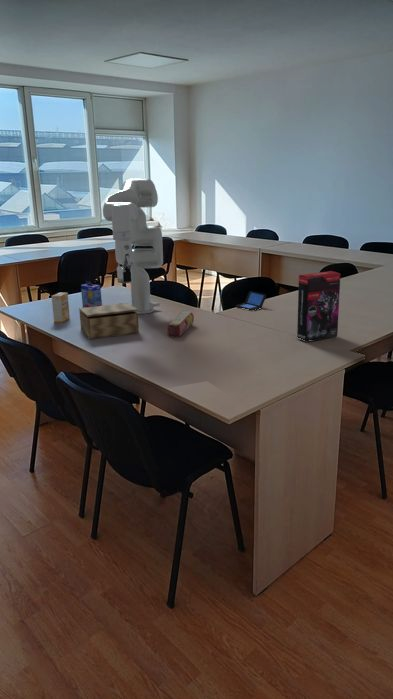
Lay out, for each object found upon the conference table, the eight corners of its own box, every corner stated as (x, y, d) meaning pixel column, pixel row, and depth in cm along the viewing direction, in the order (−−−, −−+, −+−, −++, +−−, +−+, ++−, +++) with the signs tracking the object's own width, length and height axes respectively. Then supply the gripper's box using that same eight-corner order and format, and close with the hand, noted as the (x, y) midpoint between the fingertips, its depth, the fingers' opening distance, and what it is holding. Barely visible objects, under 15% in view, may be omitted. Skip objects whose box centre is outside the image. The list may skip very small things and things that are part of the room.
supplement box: (63, 323, 248) (60, 296, 243) (53, 322, 249) (50, 295, 244) (70, 318, 255) (68, 292, 251) (61, 318, 256) (58, 291, 252)
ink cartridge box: (81, 307, 276) (79, 280, 272) (89, 305, 281) (87, 278, 276) (95, 310, 271) (92, 282, 266) (102, 308, 275) (100, 280, 270)
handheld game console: (234, 307, 273) (234, 293, 271) (249, 304, 280) (249, 290, 277) (251, 311, 264) (252, 297, 262) (266, 308, 271) (267, 294, 268)
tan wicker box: (127, 323, 245) (126, 305, 242) (138, 332, 230) (137, 313, 228) (81, 329, 237) (79, 310, 234) (89, 339, 222) (87, 319, 219)
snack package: (180, 338, 222) (180, 323, 220) (166, 337, 224) (165, 322, 222) (194, 325, 242) (194, 311, 240) (180, 324, 244) (180, 310, 241)
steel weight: (129, 279, 220) (129, 265, 218) (134, 282, 215) (133, 267, 213) (116, 281, 218) (115, 266, 216) (120, 283, 213) (119, 269, 211)
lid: (126, 304, 242) (126, 303, 242) (137, 311, 227) (137, 309, 227) (79, 310, 234) (79, 308, 234) (87, 316, 219) (87, 314, 219)
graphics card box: (305, 343, 213) (309, 276, 204) (294, 339, 219) (298, 274, 210) (337, 337, 220) (342, 272, 212) (326, 333, 226) (331, 270, 218)
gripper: (138, 237, 204) (140, 283, 210) (125, 233, 219) (127, 275, 225) (119, 238, 201) (122, 284, 207) (107, 234, 216) (110, 277, 222)
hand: (124, 279), depth 216 cm, fingers closed on steel weight, 6 cm apart
